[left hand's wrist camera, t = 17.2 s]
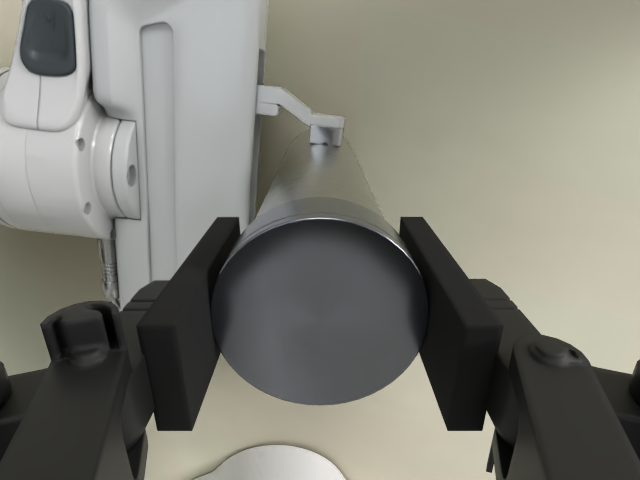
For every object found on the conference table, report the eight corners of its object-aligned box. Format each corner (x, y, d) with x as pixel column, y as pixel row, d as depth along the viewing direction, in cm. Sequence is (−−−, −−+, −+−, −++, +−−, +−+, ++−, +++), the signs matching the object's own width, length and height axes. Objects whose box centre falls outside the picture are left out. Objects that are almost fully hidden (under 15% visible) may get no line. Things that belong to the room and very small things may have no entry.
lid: (428, 341, 13) (445, 382, 11) (260, 379, 13) (251, 423, 11) (393, 172, 11) (407, 190, 9) (196, 225, 11) (174, 251, 9)
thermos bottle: (290, 202, 30) (245, 390, 12) (279, 133, 28) (205, 230, 10) (358, 194, 30) (418, 372, 12) (351, 123, 28) (410, 205, 10)
